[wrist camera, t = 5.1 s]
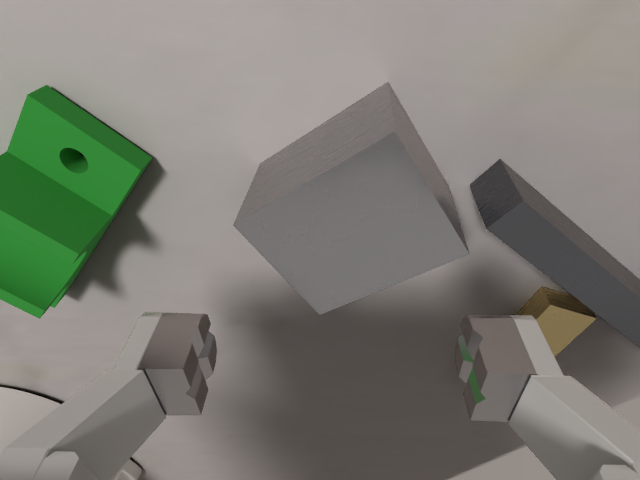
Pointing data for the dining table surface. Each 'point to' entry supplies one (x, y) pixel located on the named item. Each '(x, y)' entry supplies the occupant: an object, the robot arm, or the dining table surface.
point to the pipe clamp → (58, 197)
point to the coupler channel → (558, 247)
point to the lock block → (352, 206)
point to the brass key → (558, 317)
